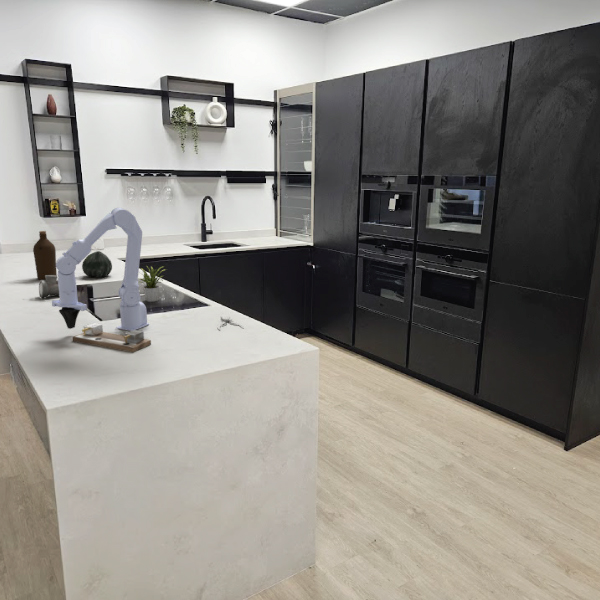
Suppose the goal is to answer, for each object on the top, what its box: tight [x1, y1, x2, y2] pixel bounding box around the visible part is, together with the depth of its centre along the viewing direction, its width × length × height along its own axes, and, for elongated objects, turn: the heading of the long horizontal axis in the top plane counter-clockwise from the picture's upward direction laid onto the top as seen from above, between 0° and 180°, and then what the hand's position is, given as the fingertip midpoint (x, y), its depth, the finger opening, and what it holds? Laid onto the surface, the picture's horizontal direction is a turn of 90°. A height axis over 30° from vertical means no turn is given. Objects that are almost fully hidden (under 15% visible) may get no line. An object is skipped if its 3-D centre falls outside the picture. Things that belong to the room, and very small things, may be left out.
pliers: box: [216, 315, 245, 331], centre depth 203 cm, size 10×2×15 cm
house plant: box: [138, 265, 168, 303], centre depth 235 cm, size 14×14×16 cm
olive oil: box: [32, 230, 58, 281], centre depth 277 cm, size 11×11×25 cm
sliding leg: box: [81, 322, 104, 336], centre depth 181 cm, size 7×4×3 cm, turn 157°
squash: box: [81, 250, 113, 278], centre depth 285 cm, size 14×15×15 cm
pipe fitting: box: [38, 275, 59, 299], centre depth 240 cm, size 12×8×10 cm
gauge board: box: [72, 329, 152, 353], centre depth 178 cm, size 9×26×4 cm, turn 67°
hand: (71, 327), depth 186 cm, fingers closed
